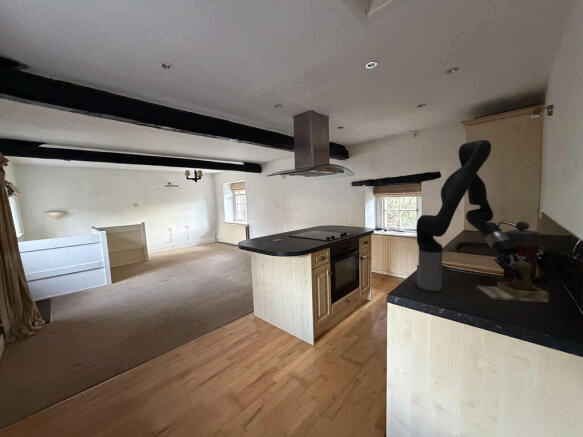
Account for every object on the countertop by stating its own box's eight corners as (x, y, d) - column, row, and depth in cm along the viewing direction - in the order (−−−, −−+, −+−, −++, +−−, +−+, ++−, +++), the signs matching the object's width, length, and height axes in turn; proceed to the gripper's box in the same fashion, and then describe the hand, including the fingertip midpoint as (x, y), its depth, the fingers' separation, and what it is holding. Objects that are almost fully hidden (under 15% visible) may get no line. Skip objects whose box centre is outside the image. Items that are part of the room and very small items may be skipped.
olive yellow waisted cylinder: (536, 291, 93) (537, 264, 92) (518, 290, 95) (519, 264, 93) (525, 285, 99) (525, 259, 98) (508, 285, 100) (508, 260, 99)
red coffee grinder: (538, 278, 115) (542, 221, 113) (525, 281, 111) (529, 223, 109) (516, 273, 123) (519, 220, 121) (503, 276, 119) (505, 221, 117)
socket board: (493, 299, 94) (494, 290, 94) (476, 288, 105) (477, 280, 105) (549, 302, 90) (550, 293, 90) (525, 290, 102) (526, 282, 101)
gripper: (490, 239, 102) (516, 276, 91) (521, 238, 103) (551, 274, 92) (479, 248, 108) (503, 284, 97) (509, 247, 109) (535, 282, 98)
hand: (526, 279), depth 95 cm, fingers closed on olive yellow waisted cylinder, 4 cm apart
